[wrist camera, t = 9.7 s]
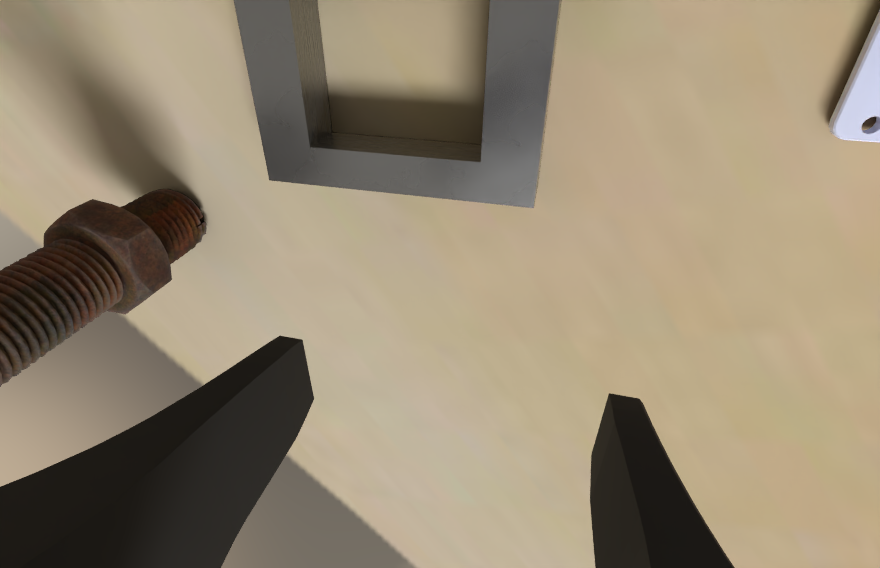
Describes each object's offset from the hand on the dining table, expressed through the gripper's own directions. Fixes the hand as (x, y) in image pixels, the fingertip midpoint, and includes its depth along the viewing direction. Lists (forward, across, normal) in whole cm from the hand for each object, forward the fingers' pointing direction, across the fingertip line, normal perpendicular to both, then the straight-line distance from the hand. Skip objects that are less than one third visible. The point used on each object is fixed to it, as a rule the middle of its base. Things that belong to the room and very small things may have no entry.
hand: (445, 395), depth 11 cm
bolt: (+11, +16, +2) cm, 19 cm away
